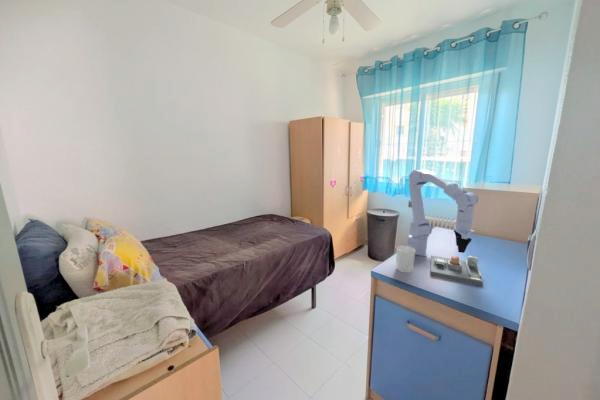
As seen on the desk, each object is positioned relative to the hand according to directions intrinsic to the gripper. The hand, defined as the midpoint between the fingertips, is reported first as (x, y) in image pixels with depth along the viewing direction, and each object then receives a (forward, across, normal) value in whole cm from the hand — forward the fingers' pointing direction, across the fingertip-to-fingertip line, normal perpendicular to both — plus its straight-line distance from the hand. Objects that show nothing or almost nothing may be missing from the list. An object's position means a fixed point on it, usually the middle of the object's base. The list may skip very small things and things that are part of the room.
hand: (460, 248), depth 109 cm
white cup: (+11, -10, +22) cm, 26 cm away
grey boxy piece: (+8, +2, -5) cm, 10 cm away
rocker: (+7, -2, +7) cm, 10 cm away
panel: (+10, -2, +2) cm, 11 cm away
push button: (+7, -2, +2) cm, 7 cm away
